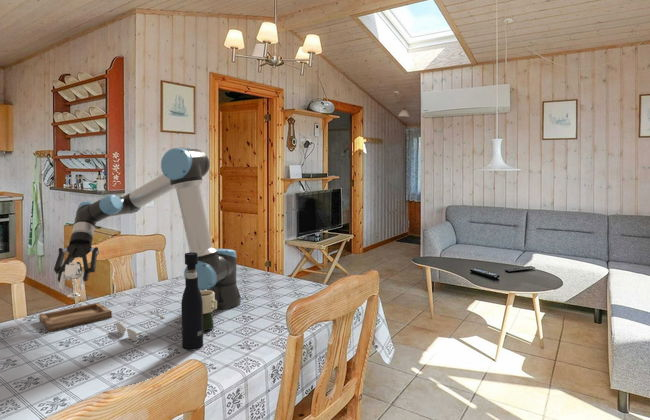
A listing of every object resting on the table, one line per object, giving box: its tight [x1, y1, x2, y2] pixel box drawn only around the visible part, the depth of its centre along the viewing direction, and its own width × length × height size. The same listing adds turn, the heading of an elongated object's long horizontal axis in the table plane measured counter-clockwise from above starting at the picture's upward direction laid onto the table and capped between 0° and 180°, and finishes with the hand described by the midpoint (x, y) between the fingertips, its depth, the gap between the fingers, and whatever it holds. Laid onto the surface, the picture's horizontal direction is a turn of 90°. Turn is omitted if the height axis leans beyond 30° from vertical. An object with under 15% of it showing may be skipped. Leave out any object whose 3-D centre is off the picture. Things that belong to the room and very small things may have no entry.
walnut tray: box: [39, 302, 113, 333], centre depth 156 cm, size 14×20×2 cm
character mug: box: [200, 290, 218, 332], centre depth 148 cm, size 11×7×13 cm, turn 66°
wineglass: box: [64, 261, 83, 298], centre depth 155 cm, size 6×6×12 cm
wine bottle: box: [180, 252, 204, 351], centre depth 133 cm, size 6×6×30 cm
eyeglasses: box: [115, 313, 182, 342], centre depth 148 cm, size 15×18×4 cm
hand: (70, 288), depth 152 cm, fingers closed on wineglass, 6 cm apart
